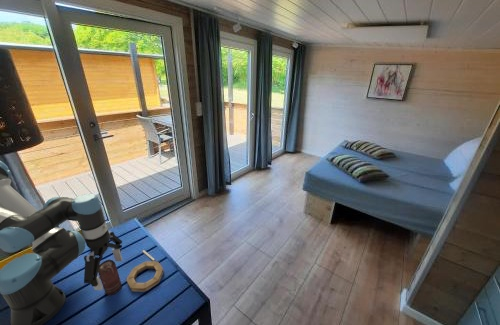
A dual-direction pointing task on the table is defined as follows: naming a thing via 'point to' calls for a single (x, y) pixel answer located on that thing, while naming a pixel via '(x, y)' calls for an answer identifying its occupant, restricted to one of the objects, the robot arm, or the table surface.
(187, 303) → the table surface
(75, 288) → the table surface
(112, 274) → the can
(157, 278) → the wooden ring
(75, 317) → the table surface
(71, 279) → the table surface
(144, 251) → the straight beige square stick
